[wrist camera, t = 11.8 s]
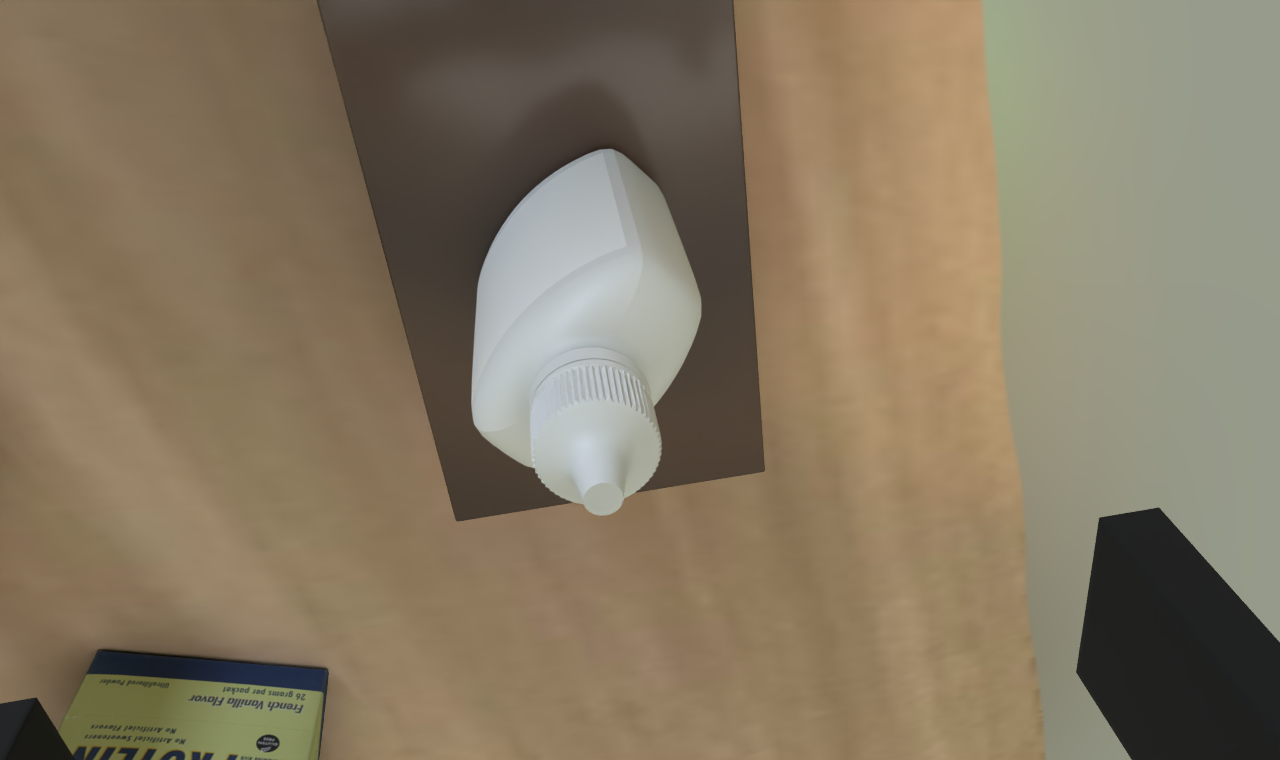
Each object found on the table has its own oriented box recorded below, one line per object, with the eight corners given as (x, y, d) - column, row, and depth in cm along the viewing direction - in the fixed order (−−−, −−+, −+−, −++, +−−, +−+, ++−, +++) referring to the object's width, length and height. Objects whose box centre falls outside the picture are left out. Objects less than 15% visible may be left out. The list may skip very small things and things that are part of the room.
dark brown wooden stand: (350, -126, 32) (290, -97, 23) (665, -171, 32) (723, -158, 23) (467, 368, 41) (455, 522, 32) (712, 330, 41) (765, 472, 32)
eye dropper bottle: (440, 198, 27) (397, 450, 16) (642, 129, 26) (727, 342, 16) (500, 335, 29) (495, 633, 19) (687, 274, 29) (787, 543, 18)
